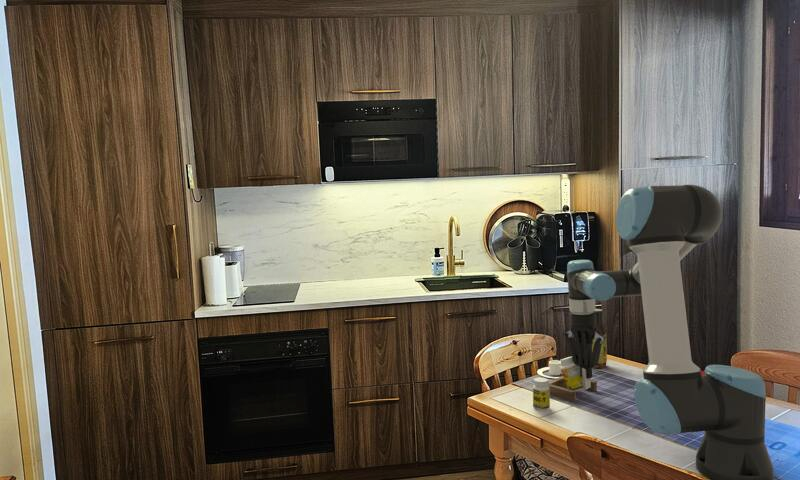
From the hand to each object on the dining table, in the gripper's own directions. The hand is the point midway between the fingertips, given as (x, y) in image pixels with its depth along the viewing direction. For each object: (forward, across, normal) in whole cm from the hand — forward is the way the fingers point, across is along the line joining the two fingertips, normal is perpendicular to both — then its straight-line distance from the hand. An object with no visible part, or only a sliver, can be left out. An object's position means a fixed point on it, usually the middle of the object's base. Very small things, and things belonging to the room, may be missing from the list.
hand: (586, 388), depth 184 cm
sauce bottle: (+3, +13, -27) cm, 30 cm away
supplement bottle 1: (+2, +4, +17) cm, 18 cm away
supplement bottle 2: (+1, +3, 0) cm, 3 cm away
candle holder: (+3, +19, -11) cm, 22 cm away
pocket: (+2, +5, +1) cm, 5 cm away
